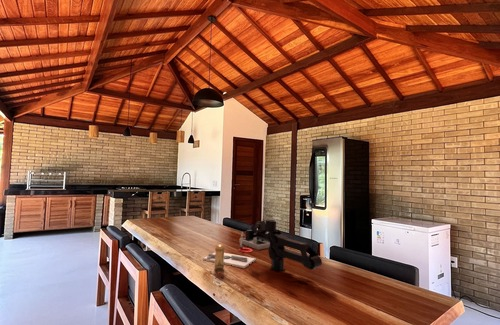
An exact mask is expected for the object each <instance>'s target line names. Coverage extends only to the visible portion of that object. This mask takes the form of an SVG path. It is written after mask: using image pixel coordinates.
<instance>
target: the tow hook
mask: <svg viewBox="0 0 500 325" xmlns="http://www.w3.org/2000/svg"><path fill="white" fill-rule="evenodd" d="M243 234H244V231H241V234H240V239H241V243H239V247H238V248H239V249H237V251H238V252H241V253H245V254H247V253H248V254H249V253H252V252H253V248H251V247H250V248H249V247H248V248H247V247H244V245H243V243H242V239H243V238H244V237H243V236H244V235H243Z"/></svg>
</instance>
